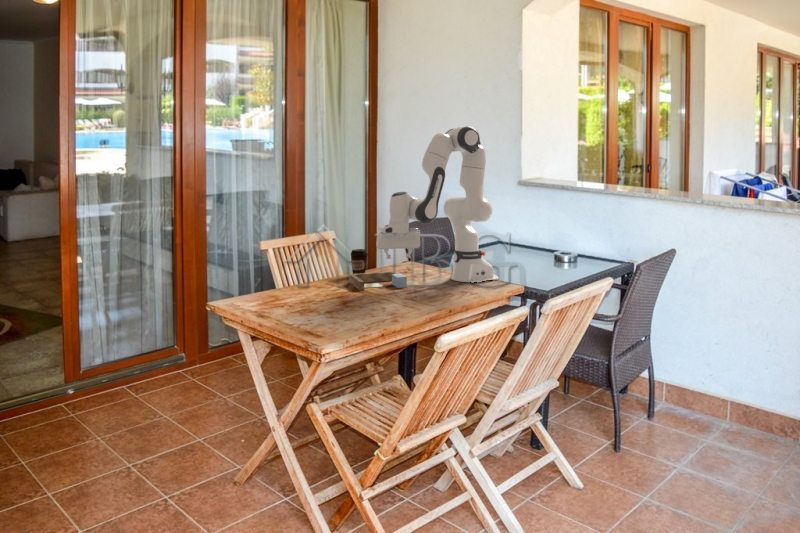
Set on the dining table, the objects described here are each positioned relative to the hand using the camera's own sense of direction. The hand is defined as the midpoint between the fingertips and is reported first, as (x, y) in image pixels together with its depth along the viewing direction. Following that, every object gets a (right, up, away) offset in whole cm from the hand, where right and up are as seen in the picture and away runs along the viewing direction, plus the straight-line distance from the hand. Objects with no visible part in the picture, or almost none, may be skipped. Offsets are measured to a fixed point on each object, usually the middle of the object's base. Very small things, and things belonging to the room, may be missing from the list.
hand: (398, 258), depth 343 cm
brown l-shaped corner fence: (-10, -12, +4) cm, 16 cm away
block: (0, -13, +3) cm, 13 cm away
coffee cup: (-19, -9, +24) cm, 32 cm away
